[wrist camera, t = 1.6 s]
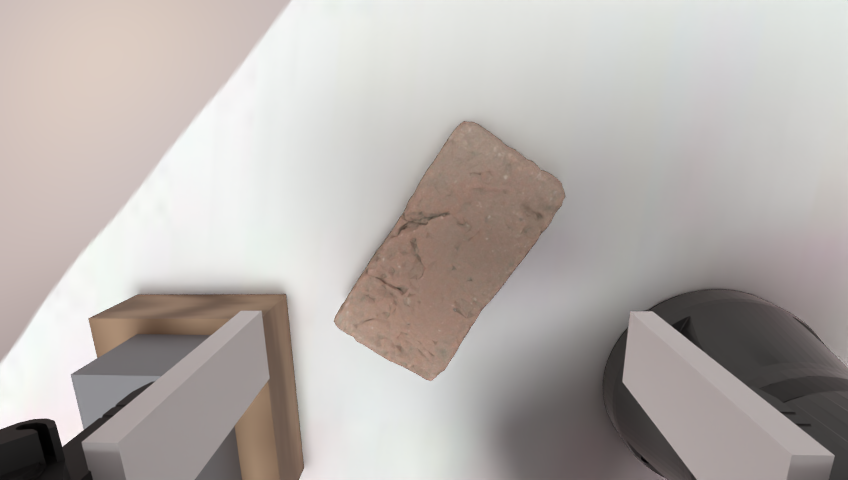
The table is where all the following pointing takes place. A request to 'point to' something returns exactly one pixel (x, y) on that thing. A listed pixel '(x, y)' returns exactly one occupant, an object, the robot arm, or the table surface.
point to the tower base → (203, 315)
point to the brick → (450, 251)
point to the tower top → (134, 369)
